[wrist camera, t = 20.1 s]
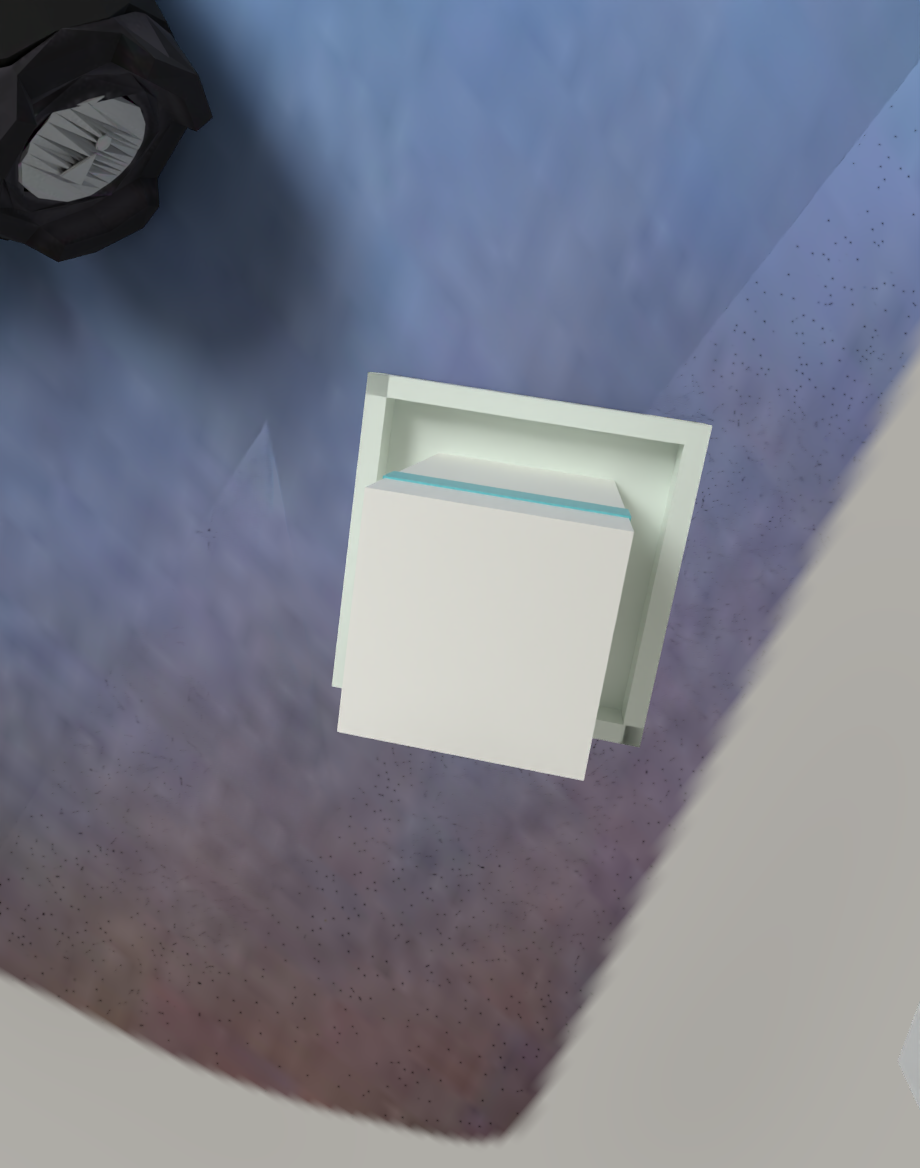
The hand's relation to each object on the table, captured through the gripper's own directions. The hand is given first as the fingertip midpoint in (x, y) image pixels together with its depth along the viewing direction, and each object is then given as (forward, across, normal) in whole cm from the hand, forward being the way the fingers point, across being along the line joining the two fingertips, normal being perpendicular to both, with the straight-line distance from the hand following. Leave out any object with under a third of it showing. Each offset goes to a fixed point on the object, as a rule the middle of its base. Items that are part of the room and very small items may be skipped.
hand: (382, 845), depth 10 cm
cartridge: (+19, 0, 0) cm, 19 cm away
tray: (+20, 0, -1) cm, 20 cm away
